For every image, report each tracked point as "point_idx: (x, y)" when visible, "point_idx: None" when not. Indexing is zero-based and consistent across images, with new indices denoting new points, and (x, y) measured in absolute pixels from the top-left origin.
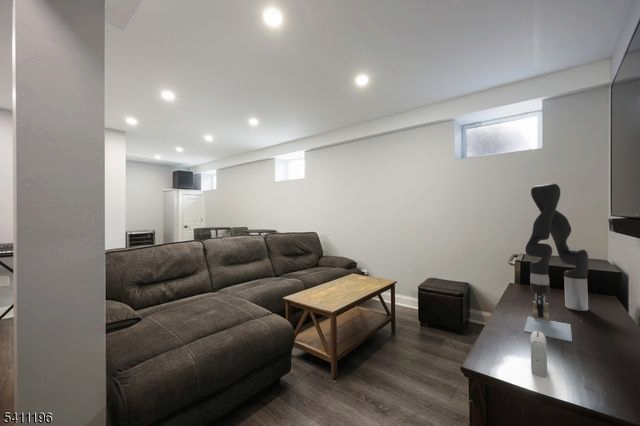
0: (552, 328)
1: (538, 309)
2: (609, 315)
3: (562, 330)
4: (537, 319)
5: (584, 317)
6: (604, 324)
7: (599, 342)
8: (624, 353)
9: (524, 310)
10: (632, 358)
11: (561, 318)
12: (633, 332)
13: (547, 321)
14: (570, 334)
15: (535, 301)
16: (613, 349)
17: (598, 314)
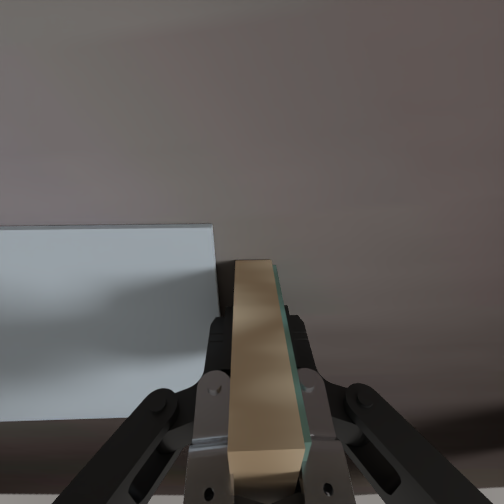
0: (48, 368)
1: (192, 386)
2: (483, 471)
3: (68, 398)
4: (177, 295)
5: None
6: None
7: (70, 459)
8: (30, 486)
9: (463, 169)
10: (6, 492)
11: (338, 381)
12: None
13: (184, 343)
14: (39, 417)
15: (296, 467)
16: (36, 476)
17: (488, 456)
